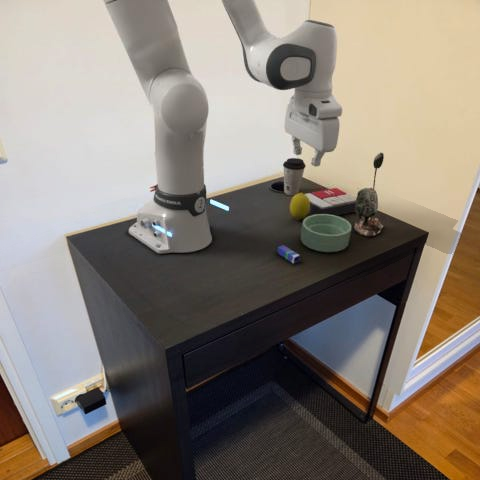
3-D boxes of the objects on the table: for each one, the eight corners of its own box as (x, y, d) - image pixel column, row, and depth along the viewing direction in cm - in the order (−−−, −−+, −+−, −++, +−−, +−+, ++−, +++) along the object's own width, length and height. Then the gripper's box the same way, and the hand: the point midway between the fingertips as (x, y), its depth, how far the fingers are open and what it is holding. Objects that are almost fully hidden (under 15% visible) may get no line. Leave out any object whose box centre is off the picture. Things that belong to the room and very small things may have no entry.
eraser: (293, 264, 106) (294, 257, 105) (277, 254, 110) (277, 246, 108) (299, 262, 107) (300, 254, 106) (283, 251, 111) (283, 244, 109)
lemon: (299, 226, 122) (302, 198, 117) (284, 219, 125) (287, 192, 120) (312, 220, 125) (315, 193, 120) (297, 214, 128) (300, 187, 123)
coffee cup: (285, 197, 137) (288, 165, 131) (277, 189, 142) (279, 157, 136) (306, 195, 139) (310, 163, 133) (296, 187, 144) (300, 156, 138)
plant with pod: (340, 229, 121) (353, 155, 109) (368, 219, 126) (384, 148, 114) (361, 241, 116) (378, 165, 104) (391, 231, 121) (410, 157, 109)
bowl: (292, 243, 114) (293, 225, 111) (315, 227, 122) (317, 210, 119) (334, 258, 109) (337, 240, 105) (355, 240, 116) (359, 223, 113)
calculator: (361, 199, 129) (322, 206, 122) (358, 213, 131) (319, 221, 124) (336, 186, 136) (298, 192, 129) (333, 199, 138) (295, 207, 132)
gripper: (280, 93, 113) (277, 149, 121) (323, 112, 98) (315, 174, 107) (302, 91, 115) (297, 146, 123) (347, 110, 100) (337, 170, 109)
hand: (306, 159), depth 115 cm, fingers open, 8 cm apart
